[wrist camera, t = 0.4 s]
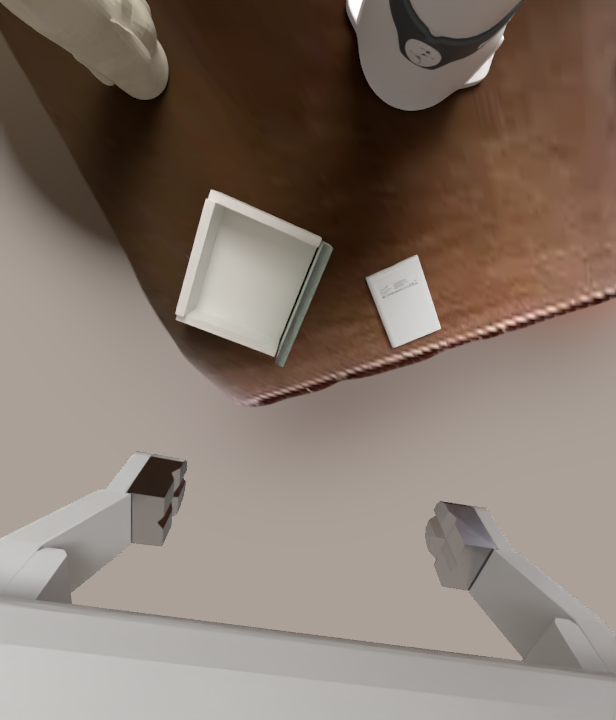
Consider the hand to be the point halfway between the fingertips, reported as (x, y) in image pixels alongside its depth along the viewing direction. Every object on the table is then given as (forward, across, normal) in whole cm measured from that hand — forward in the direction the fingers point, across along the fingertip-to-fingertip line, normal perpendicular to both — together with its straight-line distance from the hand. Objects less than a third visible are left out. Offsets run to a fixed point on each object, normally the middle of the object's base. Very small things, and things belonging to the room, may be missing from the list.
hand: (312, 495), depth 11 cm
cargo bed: (+44, +9, +1) cm, 45 cm away
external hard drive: (+45, -15, +1) cm, 47 cm away
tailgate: (+42, 0, +3) cm, 42 cm away
